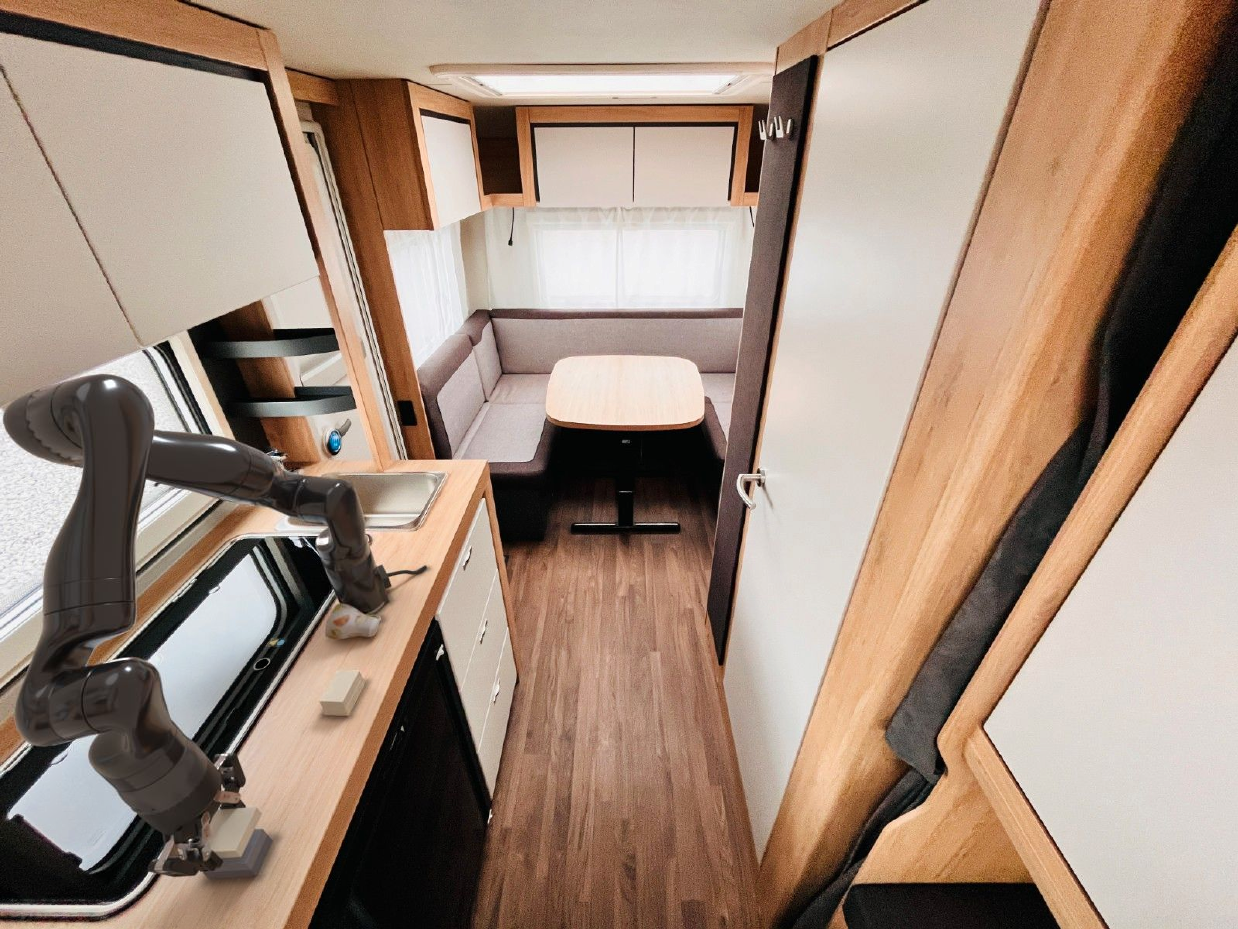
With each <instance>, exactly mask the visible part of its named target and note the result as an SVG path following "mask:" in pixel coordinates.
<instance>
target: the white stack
mask: <svg viewBox="0 0 1238 929" xmlns="http://www.w3.org/2000/svg"><path fill="white" fill-rule="evenodd" d="M365 685H366V682H365V679H364V677H363V676H362V673H361V671H360V670H355V669H337V670H336V671H335V673H334V674H333V676H332V678H331V679H330V682H329V683H328V685H327V687H326V689H325V690H324V692H323V694H322V695H321V697H320V699H319V700H318V701H319V703H320V706H321V710H322V711H323V714H324V716H340V717H349V716H350V714H351V713H352V710H353V708H354V706H355V704H356V702H357V701H358V699H359V697H360V695H361V693H362V691H363V689H364V687H365Z"/></svg>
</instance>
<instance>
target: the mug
mask: <svg viewBox="0 0 1238 929" xmlns="http://www.w3.org/2000/svg"><path fill="white" fill-rule="evenodd" d="M381 622H382V618H381V616H380V615H379V614H373V615H370V614H363V613H361V612H360V611H358V610H357V609H356V608H354V607H352V606H350V605H347V604H340V603H338V604H336V605H335V606H334V607H333V608H332V610H331V611H330V614H329V615H328V618H327V620H326V623H325V629H324V630H325V631H324V636H325V637H326V638H328V639H332V640H344V639H348V638H354V637H367V638H371V637H374V636H375V635H376V634H377V632H378V631H379V628H380V623H381Z"/></svg>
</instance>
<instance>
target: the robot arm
mask: <svg viewBox="0 0 1238 929" xmlns="http://www.w3.org/2000/svg"><path fill="white" fill-rule="evenodd" d="M2 414H3V415H2V424H3V427H4V429H5V432H6V433H7V435H8V436H9V437H10V439H11V440H12V441H13V442H14V443H15V444H16V445H17V446H18V447H19V448H21V449H22V450H24V451H26V452H27V453H29V454H30V455H32V456H34V457H36V458H38V459H41V460H43V461H47V462H49V463H53V464H56V465H60V466H61V465H62V466H65V467H71V468H78V469H82V472H81V479H80V483H79V487H78V489H77V492H76V496H75V499H74V501H73V504H72V506H71V508H70V510H69V511H68V514H67V515H66V518H65V520H64V522H63V524H62V526H61V528H60V529H59V531H58V533H57V535H56V537H55V539H54V541H53V543H52V545H51V547H50V550H49V552H48V555H47V559H46V561H45V565H44V570H43V580H42V590H43V591H42V629H41V633H40V636H39V638H38V641H37V644H36V646H35V649H34V651H33V654H32V657H31V659H30V662H29V665H28V668H27V671H26V673H25V675H24V677H23V678H24V679H23V681H22V684H21V686H20V688H19V692H18V694H17V697H16V700H15V704H14V705H15V706H14V710H13V721H14V722H13V723H14V726H15V728H16V731H17V733H18V734H19V735H20V737H21V738H22V739H23V740H24V741H25V742H27V743H28V744H30V745H33V746H35V747H51V746H57V745H61V744H65V743H68V742H73V741H76V740H80V739H84V738H88V737H92V736H95V737H94V739H93V740H92V741H91V744H90V746H89V748H88V753H87V756H88V757H87V758H88V762H89V764H90V766H91V767H92V769H94V771H95V772H96V773H97V774H98V775H99V776H100V777H102V778H103V779H104V780H105V781H106V782H107V783H108V784H109V785H110V786H111V787H112V788H113V789H115V791H116V793H117V795H118V796H119V798H120V799H121V800H122V802H124V804H126V805H127V806H128V807H129V808H130V810H131V811H133V812H134V813H136V815H138V816H139V817H140V818H141V819H142V820H143V821H144V822H146V823H147V824H148V825H149V826H150V827H151V828H153V829H154V830H156V831H158V832H159V833H161V834H162V839H163V843H164V844H165V845H164V847H163V850H162V852H161V854H160V856H159V858H154V859H152V860H151V861H150V862H149V863H148V866H147V871H148V873H152V874H157V875H162V876H167V877H171V878H182V877H195V876H197V875H198V873H199V872H200V873H203V872H209V871H215V869H216V868H220V867H221V865H222V863H223V860H222V859H221V858H220V857H219V856H218V855H217V854H216V853H215V852H214V851H213V850H211V848H210V844H209V841H210V839H211V838H212V834H211V830H210V823H211V820H212V818H213V816H214V815H215V813H216V812H217V810H218V809H237V808H247V805H246V804H245V802H244V801H243V800H242V799H241V797H242V795H241V793H240V790H241V788H244V786H245V785H246V782H247V778H246V775H245V773H244V769H243V766H242V764H241V761H240V759H239V757H238V754H237V752H236V753H235V752H232V753H231V752H230V753H216V754H215V755H214V756H213V759H212V761H211V760H210V758H209V756H207V755H206V754H205V752H204V751H203V750H202V749H201V748H200V747H199V745H198V744H197V743H196V742H195V741H194V740H193V739H191V738H190V737H188V736H187V735H186V734H185V732H183V731H182V729H181V728H180V727H179V726H178V725H177V724H176V722H175V721H174V720H173V719H172V717H171V715H170V712H169V708H168V704H167V701H166V698H165V693H164V687H163V680H162V676H161V673H160V671H159V669H158V668H157V667H156V665H154V664H153V663H152V662H150V661H148V660H146V659H143V658H141V657H136V656H135V657H134V656H128V657H120V658H115V659H111V660H108V661H102V662H97V663H94V664H89V661H90V659H91V657H92V655H93V653H94V651H95V650H96V648H97V647H98V646H100V645H101V644H103V643H105V642H107V641H109V640H112V639H114V638H116V637H119V636H121V635H123V634H125V633H127V632H129V631H131V630H132V629H133V628H134V627H135V624H136V622H137V617H138V616H137V614H138V612H137V611H138V610H137V609H138V608H137V607H138V606H137V575H136V574H137V572H136V548H137V547H136V546H137V535H138V525H139V520H140V513H141V508H142V504H143V503H142V502H143V498H144V493H145V487H146V481H150V482H153V483H157V484H161V485H165V486H168V487H172V488H175V489H181V490H184V491H189V492H192V493H196V494H199V495H202V496H205V497H209V498H213V499H216V500H219V501H225V502H228V503H232V504H233V503H234V504H239V505H243V506H244V505H245V506H251V507H263V508H267V509H270V510H273V511H275V512H277V513H280V514H282V515H285V516H286V517H289V518H291V519H294V520H296V521H299V522H302V523H307V524H315V525H322V526H323V525H324V526H326V527H327V528H324V529H323V531H321V532H320V533H319V534H318V535H317V536H316V539H315V544H314V546H315V549H316V551H317V553H318V556H319V558H320V561H321V563H322V565H323V568H324V570H325V573H326V575H327V577H328V580H329V582H330V585H331V587H332V589H333V592H334V596H335V597H336V600H337V602H338V604H347V605H350V606H352V607H354V608H356V609H357V610H358V611H360V612H361V613H363V614H370V615H375V614H377V612H379V611H380V610H381V609H382V608H383V607H384V606H385V605H387V604H388V603H390V598H389V595H388V592H387V589H389V588H392V587H393V585H392V583H391V579H390V577H394V576H398V575H411V576H413V575H414V576H415V575H418V574H420V573H422V572H424V571H425V570H427V569H428V566H427V564H425V565H423V566H421V567H420V568H419V569H416V570H410V569H401V570H397V571H391V572H388V573H387V571H386V569H385V567H384V565H383V564H380V565H377V564H376V560H375V557H374V555H373V552H372V549H371V546H370V543H369V540H368V537H367V534H366V519H365V515H364V512H363V509H362V508H363V507H362V505H361V500H360V497H359V494H358V491H357V489H356V487H355V486H354V484H353V482H351V481H349V480H348V479H344V478H335V477H325V476H315V475H306V474H300V473H295V472H292V471H289V470H285V469H282V468H280V467H279V466H278V464H277V462H276V461H275V460H274V459H273V458H272V457H271V456H270V455H269V454H267V453H265V452H263V451H262V450H259V449H257V448H256V447H253V446H250V445H248V444H245V443H243V442H240V441H239V440H235V439H232V438H228V437H225V436H220V435H213V434H207V433H197V432H187V431H175V430H164V429H156V420H155V412H154V407H153V405H152V403H151V401H150V398H148V396H147V395H146V394H145V393H144V391H143V390H142V388H140V387H139V386H137V384H135V383H134V382H132V381H130V380H129V379H126V378H124V377H123V376H119V375H116V374H111V373H97V374H90V375H84V376H80V377H79V376H78V377H76V378H71V379H70V380H66V381H62V382H58V383H54V384H51V385H47V386H42V387H40V388H36V389H33V390H31V391H29V392H27V393H23V394H22V395H20V396H18V397H17V398H16V397H15V399H14V400H11V402H9V404H8V405H6V407H5V409H4V411H3V413H2ZM88 664H89V665H88ZM222 789H223V790H222ZM195 848H197V849H198V850H195ZM179 849H181V850H182V851H183V855H184V860H182V858H183V855H180V853H179V851H178V850H179Z"/></svg>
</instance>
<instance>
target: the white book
mask: <svg viewBox="0 0 1238 929" xmlns="http://www.w3.org/2000/svg"><path fill="white" fill-rule="evenodd" d="M262 815H263V813H262V811H261V810H259V808H258V807H256V806H255V807H254V806H253V807H246V808H237V809H220V808H219V809H218V810H217V812H216V813H215V815H214V816H213V818H212V820H211V823H210V830H211V834H212V838H211V839H210V841H209V844H210V848H211V850H213V851H214V852H215V853H216V854H217V855H218V856H219V857H220V858H231V857H241V856H242V854H243V852H244V850H245V848H246V846H247V844H248V842H249V840H250V838H251V836H252V833H253V831H254V829H256V827H257V825H258V823H259V821H260V819H261V817H262ZM177 850H178V851H179V853H180V855H183V851H182V850H181V849H179V848H178V849H177ZM195 850H198V849H197V848H195ZM182 860H184V855H183V858H182Z"/></svg>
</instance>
